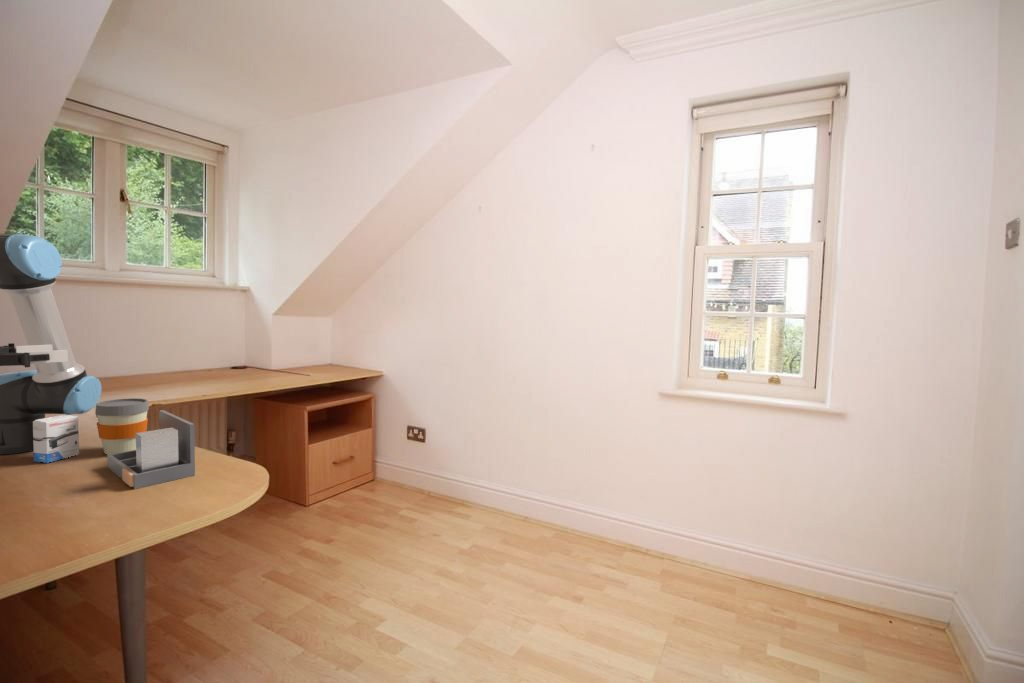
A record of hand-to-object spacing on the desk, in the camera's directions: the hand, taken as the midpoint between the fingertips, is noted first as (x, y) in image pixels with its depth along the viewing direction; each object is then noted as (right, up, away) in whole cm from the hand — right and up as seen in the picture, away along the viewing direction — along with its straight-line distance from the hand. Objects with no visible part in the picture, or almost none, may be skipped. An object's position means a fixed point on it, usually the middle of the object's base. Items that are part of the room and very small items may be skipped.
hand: (59, 352), depth 118 cm
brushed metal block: (+20, -33, +6) cm, 39 cm away
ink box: (-18, -31, +18) cm, 40 cm away
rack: (+14, -32, +11) cm, 37 cm away
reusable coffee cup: (-6, -31, +26) cm, 41 cm away
